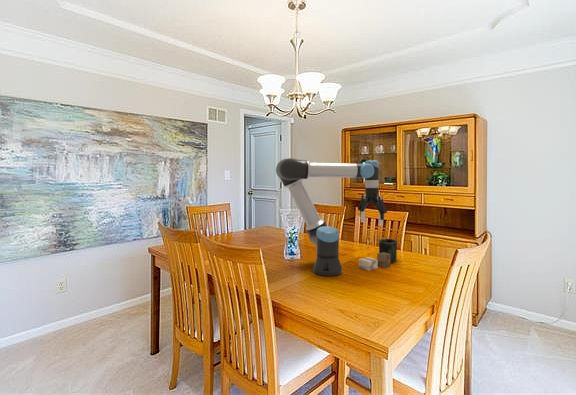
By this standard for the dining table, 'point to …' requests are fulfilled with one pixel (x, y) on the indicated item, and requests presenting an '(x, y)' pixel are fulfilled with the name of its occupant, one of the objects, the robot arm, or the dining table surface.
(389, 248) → the mug
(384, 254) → the walnut block
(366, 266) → the pale grey block
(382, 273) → the dining table surface
